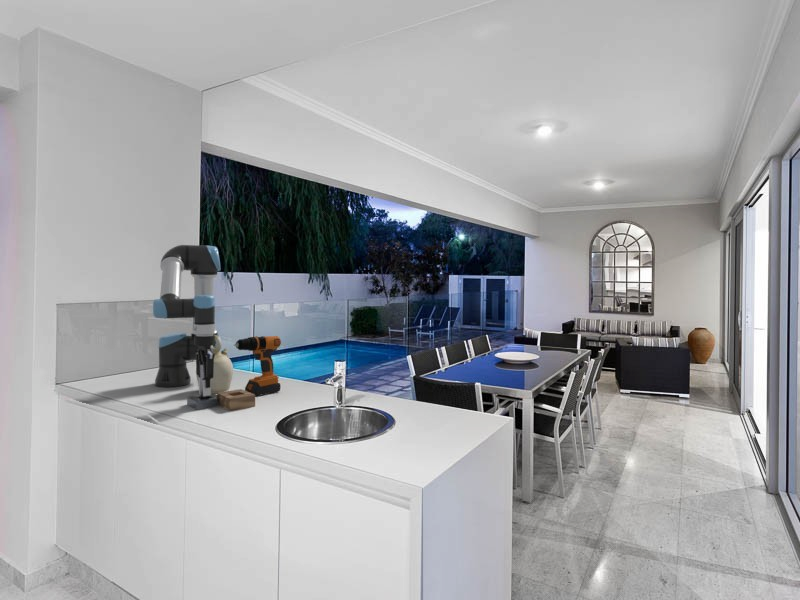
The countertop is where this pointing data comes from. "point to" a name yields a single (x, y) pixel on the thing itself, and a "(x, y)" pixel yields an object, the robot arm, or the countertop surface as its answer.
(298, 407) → the countertop surface
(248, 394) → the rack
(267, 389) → the power drill
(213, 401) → the socket block
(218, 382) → the jug
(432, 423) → the countertop surface
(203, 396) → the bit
